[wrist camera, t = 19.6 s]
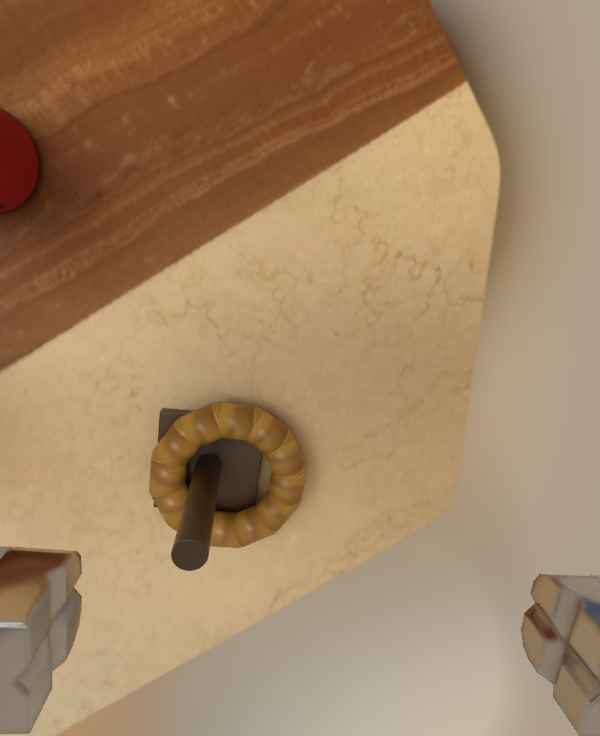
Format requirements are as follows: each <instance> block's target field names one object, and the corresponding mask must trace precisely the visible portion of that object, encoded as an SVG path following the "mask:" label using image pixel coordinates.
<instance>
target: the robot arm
mask: <svg viewBox="0 0 600 736" xmlns="http://www.w3.org/2000/svg"><path fill="white" fill-rule="evenodd" d="M81 573H82V572H81V555H80V554H79V553H78V552H77V551H65V550H51V549H36V548H22V547H15V548H13V547H4V546H0V734H22V733H30V732H31V730H32V728H33V726H34V724H35V722H36V720H37V718H38V716H39V714H40V712H41V710H42V707H43V705H44V703H45V701H46V699H47V697H48V695H49V693H50V691H51V689H52V671H53V670H54V669H56V668H57V667H58V666H60V665H61V664H62V663H64V662H65V661H66V659H67V656H68V654H69V652H70V650H71V648H72V646H73V643H74V640H75V636H76V633H77V630H78V626H79V621H80V614H81V595H80V594H79V593H78V592H77V590H76V589H75V588H74V586H75V584H76V582H77V581H78V579H79V577H80V575H81ZM530 593H531V595H532V597H533V600H534V601H535V604H534V605H533V606H532V607H531V608H530V609H529V610H527V611H526V612H525V614H524V618H523V623H522V627H521V632H522V640H523V646H524V649H525V651H526V654H527V657H528V659H529V661H530V662H531V664H532V665H533V667H534V668H535V670H536V672H537V673H539V674H540V675H541V676H543V677H544V678H546V679H547V680H548V681H549V682H551V683H552V684H553V697H554V699H555V700H556V702H557V703H558V705H559V706H560V708H561V709H562V711H563V712H564V713H565V715H566V717H567V718H568V720H569V721H570V723H571V724H572V726H573V727H574V729H575V730H576V732H577V733H578V735H579V736H600V575H591V576H574V575H551V574H539V576H538V577H537V578H536V579H535V580H534V582H533V585H532V588H531V592H530Z"/></svg>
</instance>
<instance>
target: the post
mask: <svg viewBox="0 0 600 736" xmlns="http://www.w3.org/2000/svg"><path fill="white" fill-rule="evenodd" d="M191 412H193V411H187V410H176V409H165V408H162V410H161V412H160V419H159V434H158V443H159V442H160V440H161V439H162V438H163V436H164V435H165V434H166V432H167V431H168V430H169V429H170V427H171V426H172V425H173V423H174V422H175V421H176V420H177V419H178V418H180V417H181V416H184V415H186V414H188V413H191ZM261 455H262V451H261V450H259V449H258V448H256V447H255V446H253V445H252V444H250V443H249V442H247V441H246V440H236V439H225V438H221V439H218V440H216V441H213V442H211V443H209V444H206V445H204V446H201V447H200V448H199V449H198V450H197V452H196V453H195V454H194V455H193V457H192V458H191V459H190V460H189V462H188V463H187V473H186V484H187V485H188V487H189V491H188V494H187V498H186V501H185V505H184V509H183V512H182V516H181V520H180V523H179V527H178V530H177V534H176V538H175V541H174V545H173V548H172V552H171V557H172V560H173V562H174V564H175V565H176V566H177V567H178V568H180V569H182V570H187V571H192V570H196V569H199V568H201V567H202V566H203V565H204V564H205V563H206V561H207V559H208V555H209V549H210V542H211V535H212V528H213V522H214V515H215V511H225V512H239V511H241V510H244V509H246V508H248V507H251V506H253V505H255V504H256V496H257V488H258V479H259V471H260V463H261ZM154 507H157V505H156V504H155V502H154Z"/></svg>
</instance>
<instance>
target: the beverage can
mask: <svg viewBox="0 0 600 736" xmlns="http://www.w3.org/2000/svg"><path fill="white" fill-rule="evenodd" d="M37 177H38V158H37V153H36V149H35V147H34V144H33V142H32V140H31V138H30V136H29V134H28V133H27V131H26V130H25V128H24V127H23V126H22V125H21V123H20V122H19V121H18V120H17V119H16V118H14V117H13V116H12V115H11V114H9V113H8V112H7V111H5V110H3V109H2V108H0V213H2V212H6V211H9V210H12V209H14V208H16V207H18V206H19V205H20V204H22V203H23V202H24V201H25V200H26V199H27V198H28V197H29V195H30V194H31V192H32V191H33V189H34V187H35V184H36V181H37Z"/></svg>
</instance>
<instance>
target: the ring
mask: <svg viewBox="0 0 600 736" xmlns="http://www.w3.org/2000/svg"><path fill="white" fill-rule="evenodd" d="M221 438H225V439H236V440H246V441H247V442H249V443H250V444H252V445H253V446H255V447H256V448H258V449H259V450H261V451H262V452H263V453H264V454H265V456H266V458H267V460H268V463H269V465H270V467H271V469H272V475H271V482H270V488H269V490H268V491H267V492H266V494H265V495H264V496H263V497H262V498H261V500H260V501H259V502H258V503H257V504H256V505H253V506H251V507H248V508H246V509H244V510H241V511H239V512H223V511H215V515H214V522H213V528H212V535H211V542H210V546H216V547H231V548H241V547H244V546H246V545H249V544H251V543H253V542H256V541H258V540H261V539H263V538H266V537H268V536H271V535H273V534H275V533H276V532H277V531H278V530H279V529H280V528H281V527H282V525H283V524H284V523H285V522H286V521H287V519H288V518H289V517H290V516H291V515H292V514H293V512H294V511H295V510H296V509H297V508H298V506H299V505H300V503H301V499H302V493H303V487H304V481H305V475H306V462H305V460H304V457H303V455H302V453H301V450H300V448H299V446H298V443H297V441H296V439H295V436H294V434H293V432H292V431H291V429H290V428H288V427H287V426H286V425H284V424H283V423H282V422H280V421H279V420H277V419H276V418H274V417H273V416H272V415H270V414H269V413H267V412H266V411H265V410H263V409H262V408H260V407H257V406H251V405H242V404H232V403H223V402H217V403H213V404H210V405H208V406H206V407H203V408H201V409H198V410H196V411H193V412H191V413H188V414H186V415H184V416H181V417H180V418H178V419H177V420H176V421H175V422H174V423H173V425H172V426H171V427H170V429H169V430H168V431H167V432H166V434H165V435H164V436H163V438H162V439H161V440H160V442H159V443H158V444H157V445H156V447H155V448H154V450H153V453H152V458H151V471H150V484H149V490H150V494H151V496H152V498H153V500H154V502H155V504H156V505H157V507H158V509H159V511H160V513H161V514H162V516H163V518H164V520H165V522H166V523H167V524H168V526H170V527H171V528H172V529H174V530H176V531H177V530H178V527H179V523H180V520H181V516H182V512H183V509H184V505H185V501H186V498H187V494H188V491H189V487H188V485H187V484H186V473H187V463H188V462H189V460H190V459H191V458H192V457H193V455H194V454H195V453H196V452H197V450H198V449H199V448H200V447H201V446H204V445H206V444H209V443H211V442H213V441H216V440H218V439H221Z"/></svg>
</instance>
